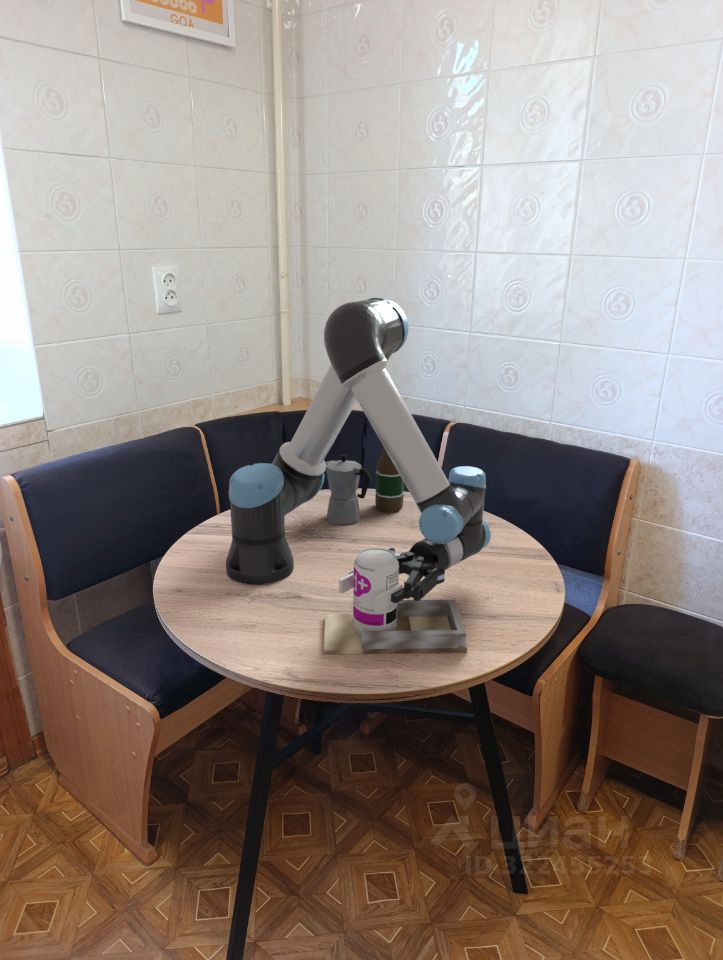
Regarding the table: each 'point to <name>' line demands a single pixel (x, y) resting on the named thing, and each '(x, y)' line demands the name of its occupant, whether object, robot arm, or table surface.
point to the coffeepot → (345, 490)
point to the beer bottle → (388, 485)
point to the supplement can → (374, 589)
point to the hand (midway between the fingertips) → (358, 595)
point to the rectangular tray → (401, 631)
